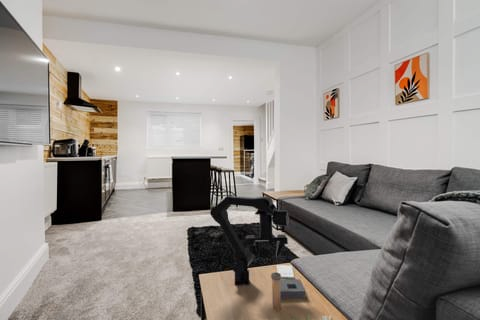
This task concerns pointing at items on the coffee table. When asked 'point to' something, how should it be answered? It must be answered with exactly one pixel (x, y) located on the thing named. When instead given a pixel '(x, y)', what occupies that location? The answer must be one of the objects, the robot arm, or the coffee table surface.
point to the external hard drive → (285, 271)
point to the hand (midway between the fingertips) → (266, 258)
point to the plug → (276, 291)
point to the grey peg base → (292, 289)
